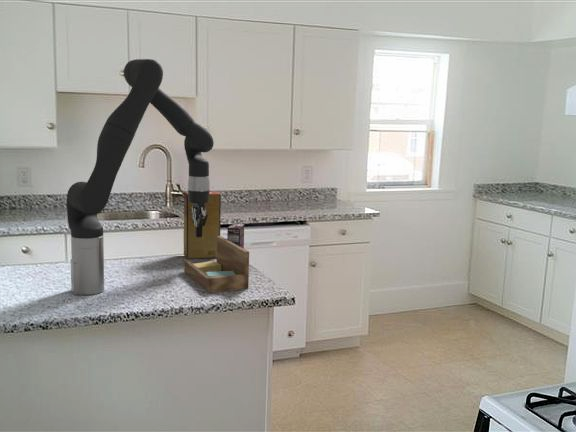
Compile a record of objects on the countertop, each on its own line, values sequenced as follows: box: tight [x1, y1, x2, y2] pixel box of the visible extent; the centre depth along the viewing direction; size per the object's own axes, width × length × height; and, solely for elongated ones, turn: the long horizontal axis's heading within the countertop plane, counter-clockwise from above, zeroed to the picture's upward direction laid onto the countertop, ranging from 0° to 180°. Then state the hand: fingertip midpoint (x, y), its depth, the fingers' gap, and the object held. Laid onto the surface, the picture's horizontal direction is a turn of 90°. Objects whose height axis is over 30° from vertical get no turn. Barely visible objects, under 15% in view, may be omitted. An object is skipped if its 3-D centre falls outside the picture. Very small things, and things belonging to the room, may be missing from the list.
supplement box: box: [226, 223, 245, 249], centre depth 209 cm, size 9×5×16 cm, turn 174°
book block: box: [206, 271, 236, 277], centre depth 190 cm, size 9×6×4 cm, turn 107°
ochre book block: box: [193, 260, 221, 274], centre depth 203 cm, size 9×6×4 cm, turn 128°
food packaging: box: [183, 190, 222, 260], centre depth 226 cm, size 13×9×25 cm
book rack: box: [183, 235, 250, 293], centre depth 194 cm, size 13×26×12 cm, turn 27°
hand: (198, 236), depth 208 cm, fingers closed
